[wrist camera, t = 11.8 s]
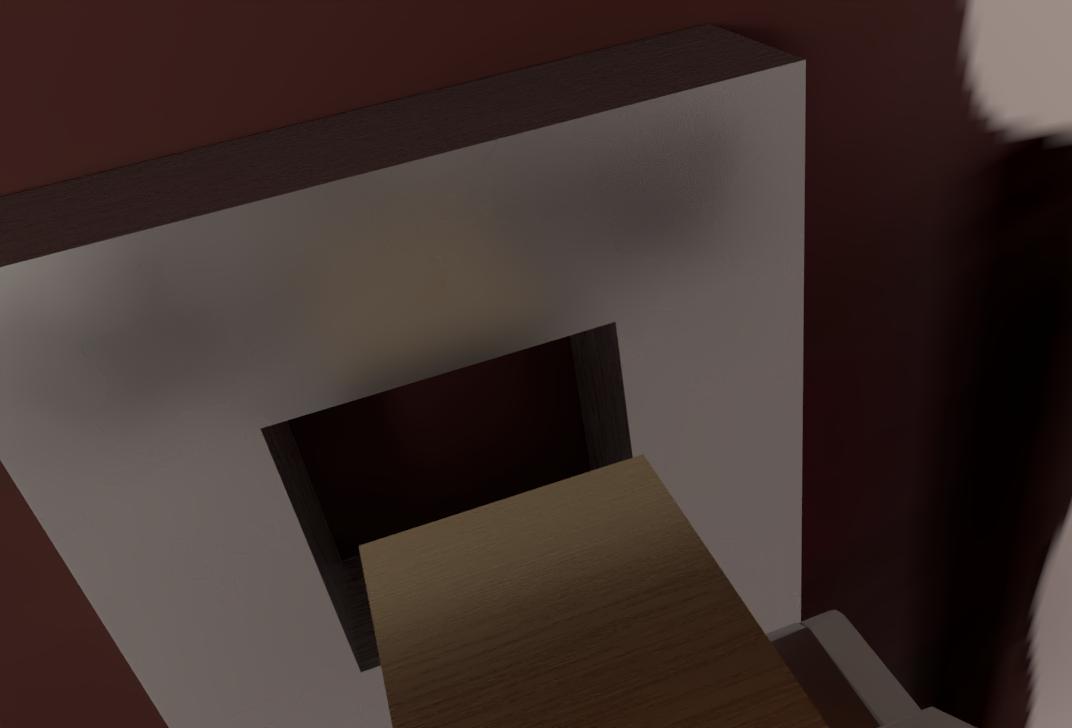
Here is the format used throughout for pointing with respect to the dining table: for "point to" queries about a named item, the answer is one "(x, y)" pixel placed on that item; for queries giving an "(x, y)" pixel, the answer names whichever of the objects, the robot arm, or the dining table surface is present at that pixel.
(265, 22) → the dining table surface
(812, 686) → the robot arm
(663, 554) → the tan block
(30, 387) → the grey rectangular board
